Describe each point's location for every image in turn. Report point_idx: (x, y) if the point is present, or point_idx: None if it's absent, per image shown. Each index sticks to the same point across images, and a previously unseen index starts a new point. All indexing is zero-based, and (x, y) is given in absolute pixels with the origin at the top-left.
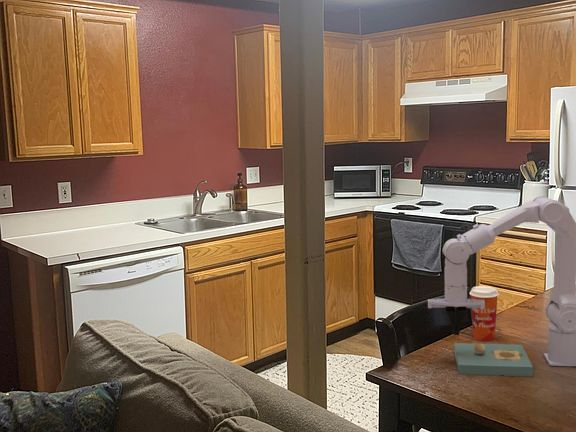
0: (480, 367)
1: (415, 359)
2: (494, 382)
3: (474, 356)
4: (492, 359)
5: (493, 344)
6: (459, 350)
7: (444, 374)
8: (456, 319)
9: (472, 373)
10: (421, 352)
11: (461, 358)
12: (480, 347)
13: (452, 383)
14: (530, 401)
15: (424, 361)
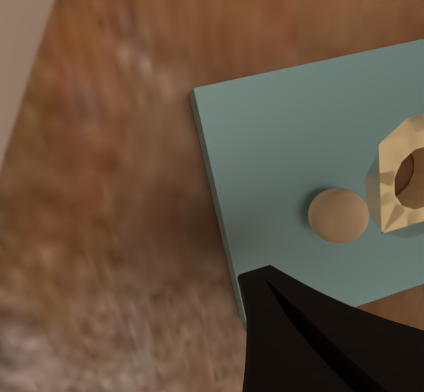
0: None
1: (41, 245)
2: None
3: (302, 240)
4: (366, 246)
5: (384, 54)
6: (235, 191)
7: (194, 335)
8: (318, 353)
9: None
10: (34, 150)
11: None
12: (350, 240)
13: (229, 381)
14: None
15: (88, 253)
